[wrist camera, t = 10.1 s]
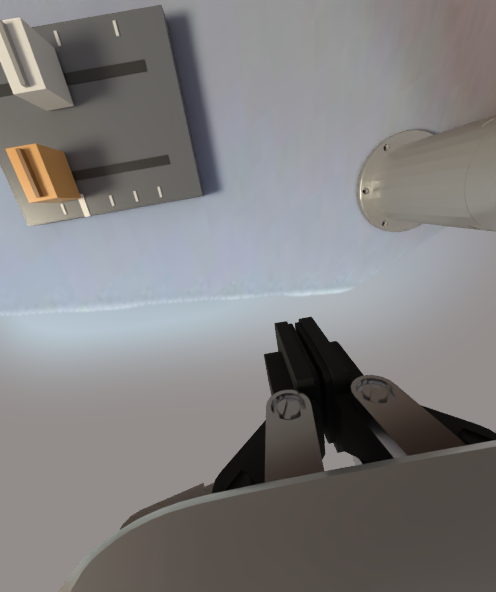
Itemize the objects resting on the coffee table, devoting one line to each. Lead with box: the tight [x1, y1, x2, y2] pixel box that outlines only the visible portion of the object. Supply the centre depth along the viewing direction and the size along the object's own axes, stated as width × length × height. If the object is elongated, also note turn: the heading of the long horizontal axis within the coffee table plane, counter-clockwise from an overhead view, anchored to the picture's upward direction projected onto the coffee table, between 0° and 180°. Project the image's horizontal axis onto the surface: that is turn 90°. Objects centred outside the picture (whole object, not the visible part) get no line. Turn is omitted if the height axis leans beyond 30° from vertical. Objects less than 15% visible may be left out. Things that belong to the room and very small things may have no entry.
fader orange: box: [5, 143, 81, 203], centre depth 27 cm, size 3×5×5 cm, turn 9°
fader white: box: [0, 17, 74, 111], centre depth 24 cm, size 3×5×5 cm, turn 9°
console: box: [0, 5, 204, 226], centre depth 30 cm, size 22×18×2 cm
